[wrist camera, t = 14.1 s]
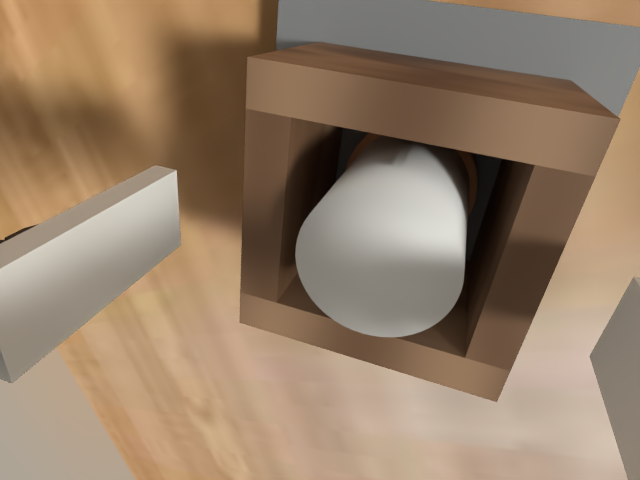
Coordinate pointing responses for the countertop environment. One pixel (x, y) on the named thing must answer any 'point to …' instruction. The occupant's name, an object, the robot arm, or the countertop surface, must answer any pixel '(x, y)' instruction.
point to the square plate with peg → (427, 153)
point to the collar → (430, 128)
